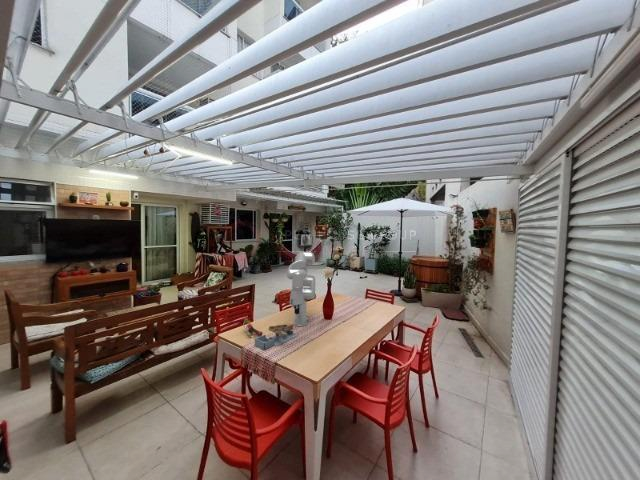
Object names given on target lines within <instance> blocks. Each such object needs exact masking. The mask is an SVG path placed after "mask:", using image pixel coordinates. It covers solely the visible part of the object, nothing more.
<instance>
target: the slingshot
mask: <svg viewBox="0 0 640 480" xmlns="http://www.w3.org/2000/svg"><path fill="white" fill-rule="evenodd" d="M245 324H246V327H245ZM243 328H244V329H245V332H246V335H247V336H248V337H253V338H258V337H260V336H262V335H264V334H263V331H261V330H258V329H256V328H254V326H253V325H252V324H251V320H249V318H247V317H245V318H244V319H243ZM248 332H249V333H254V334H256V335H250V334H248Z"/></svg>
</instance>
